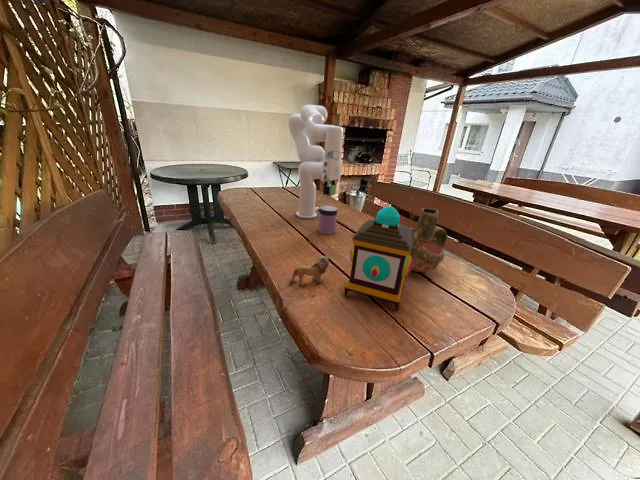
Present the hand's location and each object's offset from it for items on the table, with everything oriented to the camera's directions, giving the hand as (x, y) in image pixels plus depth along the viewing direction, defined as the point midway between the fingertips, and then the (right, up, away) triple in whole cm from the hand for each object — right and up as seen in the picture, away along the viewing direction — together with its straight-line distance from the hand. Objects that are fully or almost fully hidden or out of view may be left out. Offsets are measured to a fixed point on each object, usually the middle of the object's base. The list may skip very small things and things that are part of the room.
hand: (329, 193), depth 128 cm
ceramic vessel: (+33, -35, -22) cm, 53 cm away
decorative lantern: (+14, -41, -38) cm, 58 cm away
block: (0, 0, 0) cm, 1 cm away
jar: (-1, -18, +9) cm, 21 cm away
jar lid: (0, -7, +4) cm, 8 cm away
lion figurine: (-8, -38, -36) cm, 53 cm away
